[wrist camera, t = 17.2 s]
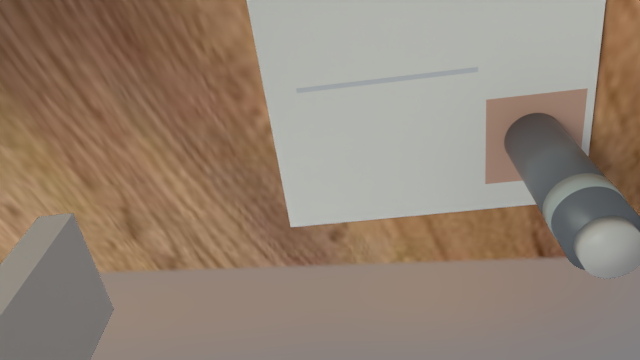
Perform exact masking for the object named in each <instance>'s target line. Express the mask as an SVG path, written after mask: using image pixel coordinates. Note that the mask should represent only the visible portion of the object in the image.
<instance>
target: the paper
mask: <svg viewBox="0 0 640 360" xmlns="http://www.w3.org/2000/svg"><path fill="white" fill-rule="evenodd" d="M246 1H247V6H248V11H249V16H250V21H251V26H252V32H253V37H254V42H255V47H256V52H257V57H258V62H259V67H260V72H261V78H262V83H263V88H264V93H265V98H266V103H267V108H268V113H269V118H270V124H271V129H272V134H273V139H274V144H275V149H276V154H277V159H278V165H279V170H280V175H281V180H282V185H283V190H284V195H285V200H286V205H287V211H288V216H289V221H290V226H291V227H300V226H310V225H321V224H332V223H342V222H353V221H364V220H374V219H385V218H396V217H407V216H417V215H428V214H439V213H449V212H460V211H471V210H481V209H492V208H503V207H513V206H524V205H535V204H536V202H535V201H534V199H533V197H532V195H531V194H530V192H529V190H528V189H527V187H526V185H525V183H524V182H523V180H522V178H521V176H520V175H519V173H518V171H517V170H516V168H515V166H514V164H513V163H512V161H511V159H510V157H509V156H508V154H507V152H506V150H505V146H504V140H505V135H506V133H507V131H508V129H509V128H510V126H511V125H512V124H513V123H514V122H515V121H516V120H518V119H519V118H521V117H523V116H525V115H528V114H532V113H545V114H548V115H551V116H552V117H554V118H555V119H556V120H557V121H558V122H559V123H560V124H561V125H562V126H563V128H564V129H565V130H566V131H567V132H568V134H569V135H570V136H571V137H572V138H573V139H574V141H575V142H576V143H577V144H578V145H579V146H580V148H581V149H582V150H583V151H584V152H585V153H586V155H587V156H588V155H589V147H590V138H591V129H592V120H593V111H594V102H595V93H596V84H597V75H598V66H599V57H600V48H601V39H602V30H603V21H604V12H605V3H606V0H246Z"/></svg>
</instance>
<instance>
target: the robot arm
mask: <svg viewBox="0 0 640 360" xmlns="http://www.w3.org/2000/svg"><path fill="white" fill-rule="evenodd" d="M113 310H114V308H113V306H112V303H111V301H110V299H109V296H108V294H107V292H106V289H105V287H104V285H103V282H102V280H101V278H100V275H99V273H98V270H97V268H96V266H95V263H94V261H93V259H92V256H91V254H90V252H89V249H88V247H87V245H86V242H85V240H84V237H83V235H82V233H81V230H80V228H79V226H78V223H77V221H76V219H75V216H74V214H73V213H69V214H60V215H51V216H41V217H38V218H37V219H36V221H35V222H34V223H33V224H32V226H31V227H30V228H29V229H28V231H27V232H26V233H25V234H24V236H23V237H22V238H21V239H20V241H19V242H18V243H17V245H16V246H15V247H14V248H13V250H12V251H11V252H10V253H9V255H8V256H7V257H6V258H5V260H4V261H3V262H2V263H1V265H0V360H90V359H91V357H92V355H93V353H94V351H95V349H96V346H97V345H98V342H99V340H100V338H101V336H102V334H103V332H104V329H105V327H106V325H107V323H108V321H109V319H110V317H111V314H112V312H113Z"/></svg>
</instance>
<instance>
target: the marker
mask: <svg viewBox="0 0 640 360" xmlns="http://www.w3.org/2000/svg"><path fill="white" fill-rule="evenodd" d="M504 146H505V150H506V152H507V154H508V156H509V157H510V159H511V161H512V163H513V164H514V166H515V168H516V170H517V171H518V173H519V175H520V176H521V178H522V180H523V182H524V183H525V185H526V187H527V189H528V190H529V192H530V194H531V195H532V197H533V199H534V201H535V202H536V204H537V206H538V208H539V209H540V211H541V213H542V215H543V217H544V220H545V222H546V223H547V225H548V227H549V229H550V230H551V232H552V234H553V236H554V237H555V238H556V239H557V240H558V242H559V244H560V246H561V247H562V249H563V251H564V253H565V254H566V256H567V258H568V259H569V261H570V262H571V263H572V264H573V265H575V266H576V267H578V268H580V269H584V270H586V271H587V272H588V273H590V274H591V275H593V276H595V277H598V278H606V279H607V278H616V277H620V276H623V275H626V274H628V273H630V272H631V271H633V270H634V269H636V268H637V267H638V266H639V265H640V217H639V215H638V214H637V213H636V212H635V211H634V210H633V208H632V207H631V206H630V205H629V204H628V203H627V201H626V199H625V198H624V196H623V195H622V194H621V193H620V192H619V190H618V189H617V188H616V187H615V186H614V185H613V183H612V182H611V181H610V180H608V179H607V178H606V177H605V176H604V174H603V173H602V172H601V171H600V170H599V169H598V167H597V166H596V165H595V164H594V163H593V162H592V160H591V159H590V158H589V157H588V156H587V155H586V153H585V152H584V151H583V150H582V149H581V148H580V146H579V145H578V144H577V143H576V142H575V141H574V139H573V138H572V137H571V136H570V135H569V134H568V132H567V131H566V130H565V129H564V128H563V126H562V125H561V124H560V123H559V122H558V121H557V120H556V119H555V118H554V117H552V116H551V115H548V114H545V113H532V114H528V115H525V116H523V117H521V118H519V119H518V120H516V121H515V122H514V123H513V124H512V125H511V126H510V128H509V129H508V131H507V133H506V135H505V140H504Z"/></svg>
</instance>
